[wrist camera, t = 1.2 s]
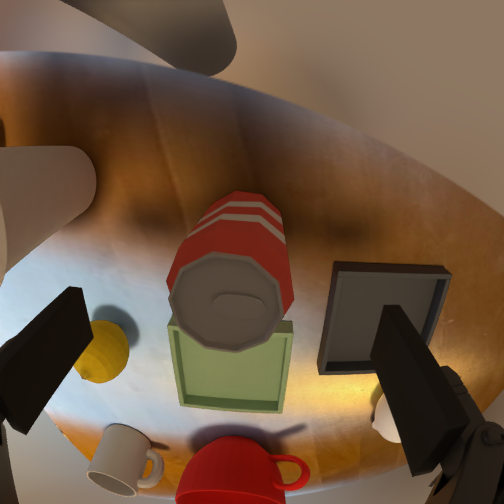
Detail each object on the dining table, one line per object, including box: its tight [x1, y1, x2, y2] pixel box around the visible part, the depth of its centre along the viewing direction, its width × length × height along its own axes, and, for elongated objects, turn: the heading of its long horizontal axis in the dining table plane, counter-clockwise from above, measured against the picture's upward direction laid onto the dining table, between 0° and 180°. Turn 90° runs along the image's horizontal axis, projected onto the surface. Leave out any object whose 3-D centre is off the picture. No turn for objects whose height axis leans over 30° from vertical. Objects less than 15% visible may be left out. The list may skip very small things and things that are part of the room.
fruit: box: [73, 320, 129, 383], centre depth 26 cm, size 6×6×8 cm
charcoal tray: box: [317, 262, 452, 375], centre depth 26 cm, size 11×11×2 cm
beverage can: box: [166, 191, 294, 353], centre depth 19 cm, size 6×6×12 cm
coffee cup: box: [0, 146, 96, 286], centre depth 17 cm, size 10×10×15 cm
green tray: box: [167, 315, 293, 414], centre depth 29 cm, size 11×11×2 cm
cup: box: [86, 424, 164, 497], centre depth 33 cm, size 7×10×9 cm
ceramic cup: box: [175, 436, 310, 504], centre depth 31 cm, size 13×17×10 cm
